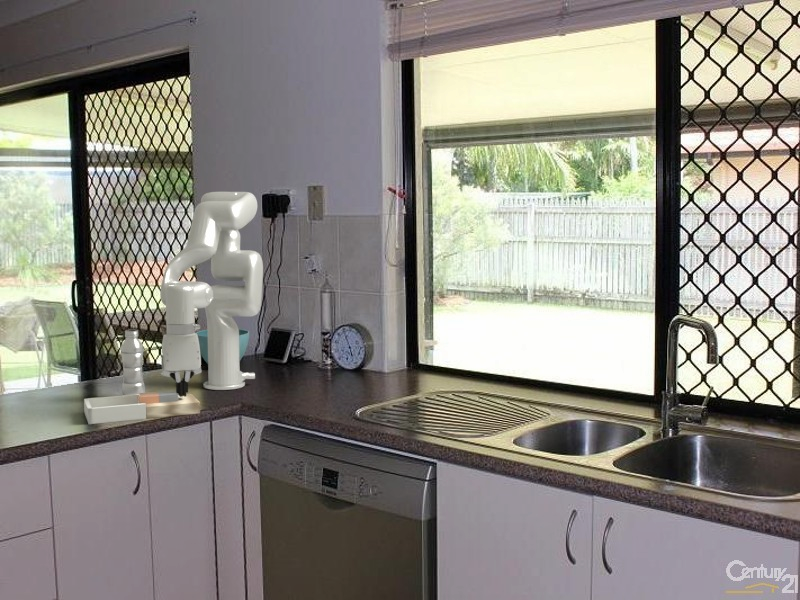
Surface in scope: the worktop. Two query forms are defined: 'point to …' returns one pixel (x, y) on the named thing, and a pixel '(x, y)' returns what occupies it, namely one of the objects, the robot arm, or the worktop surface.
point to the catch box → (114, 409)
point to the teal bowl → (204, 343)
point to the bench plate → (174, 407)
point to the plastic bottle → (132, 364)
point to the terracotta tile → (148, 398)
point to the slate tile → (168, 396)
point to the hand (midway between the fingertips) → (182, 395)
